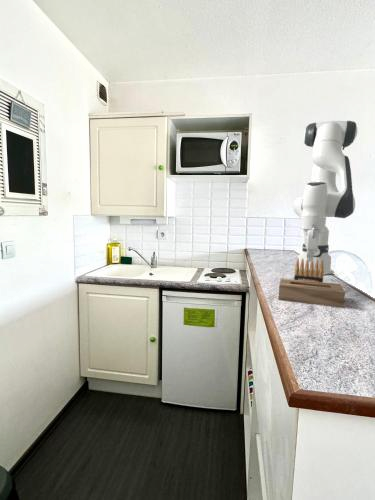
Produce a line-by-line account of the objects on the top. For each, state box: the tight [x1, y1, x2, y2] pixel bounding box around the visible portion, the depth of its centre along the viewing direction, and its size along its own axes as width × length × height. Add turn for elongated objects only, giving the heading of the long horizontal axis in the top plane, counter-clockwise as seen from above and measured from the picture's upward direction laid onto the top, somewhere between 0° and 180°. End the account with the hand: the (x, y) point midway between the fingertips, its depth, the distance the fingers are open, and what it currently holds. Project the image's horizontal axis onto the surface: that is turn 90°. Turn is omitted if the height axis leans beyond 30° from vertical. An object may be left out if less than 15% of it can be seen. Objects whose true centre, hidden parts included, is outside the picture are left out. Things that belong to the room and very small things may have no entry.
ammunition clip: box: [293, 257, 324, 282], centre depth 109 cm, size 11×2×12 cm, turn 64°
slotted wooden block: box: [278, 278, 346, 308], centre depth 97 cm, size 11×20×5 cm, turn 69°
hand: (309, 260), depth 108 cm, fingers open, 8 cm apart
